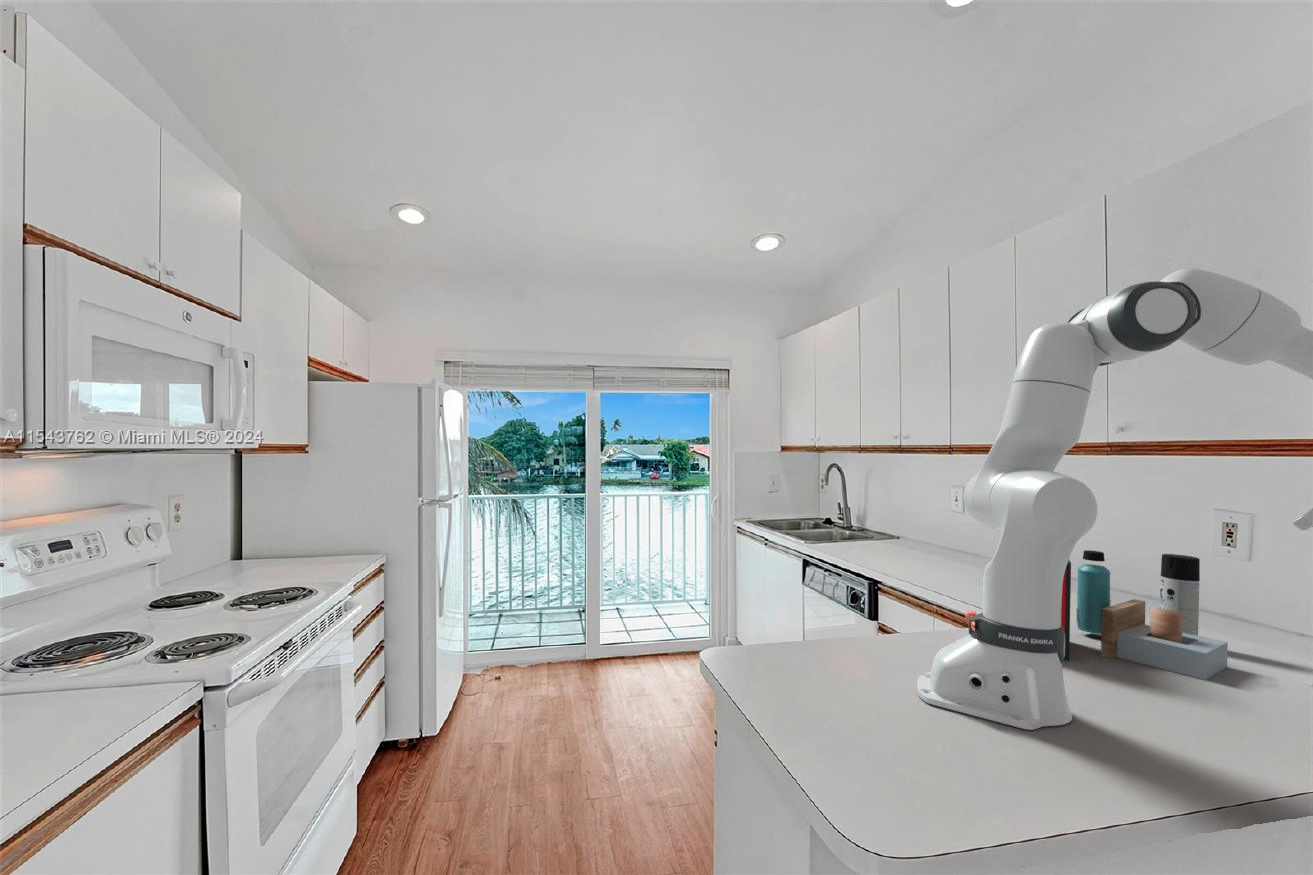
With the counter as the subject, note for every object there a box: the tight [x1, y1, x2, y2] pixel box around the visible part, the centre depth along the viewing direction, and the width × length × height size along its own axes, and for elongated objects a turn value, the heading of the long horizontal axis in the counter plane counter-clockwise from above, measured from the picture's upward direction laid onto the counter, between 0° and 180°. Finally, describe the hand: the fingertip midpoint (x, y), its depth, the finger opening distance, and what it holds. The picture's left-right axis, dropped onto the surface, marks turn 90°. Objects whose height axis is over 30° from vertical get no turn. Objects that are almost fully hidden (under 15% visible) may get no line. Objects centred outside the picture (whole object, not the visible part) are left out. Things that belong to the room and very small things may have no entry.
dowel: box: [1149, 608, 1182, 644], centre depth 123 cm, size 5×5×9 cm
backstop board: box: [1100, 598, 1146, 660], centre depth 129 cm, size 2×18×10 cm, turn 124°
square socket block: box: [1116, 623, 1229, 681], centre depth 122 cm, size 14×14×5 cm
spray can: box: [1159, 553, 1201, 636], centre depth 135 cm, size 7×7×20 cm
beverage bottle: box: [1076, 549, 1112, 635], centre depth 139 cm, size 6×7×20 cm
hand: (1304, 525), depth 101 cm, fingers open, 8 cm apart
